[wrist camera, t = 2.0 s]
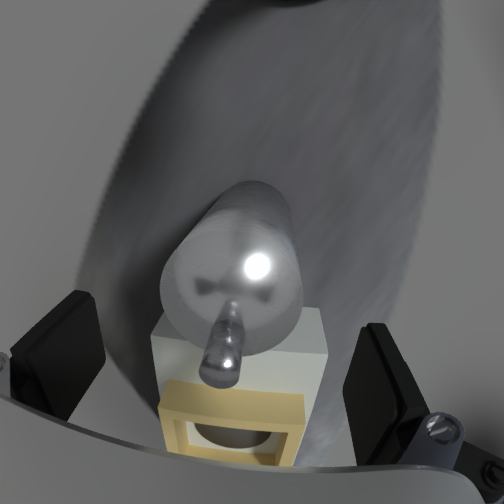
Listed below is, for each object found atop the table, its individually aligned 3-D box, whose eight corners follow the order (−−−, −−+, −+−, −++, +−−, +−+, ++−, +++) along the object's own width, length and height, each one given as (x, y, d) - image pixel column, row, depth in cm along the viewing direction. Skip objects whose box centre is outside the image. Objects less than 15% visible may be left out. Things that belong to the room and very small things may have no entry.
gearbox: (174, 293, 26) (134, 362, 17) (318, 308, 25) (334, 385, 17) (185, 424, 32) (168, 486, 24) (287, 435, 32) (287, 500, 23)
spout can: (216, 177, 22) (128, 247, 9) (293, 184, 22) (323, 266, 8) (213, 249, 24) (146, 384, 11) (285, 256, 24) (293, 403, 10)
